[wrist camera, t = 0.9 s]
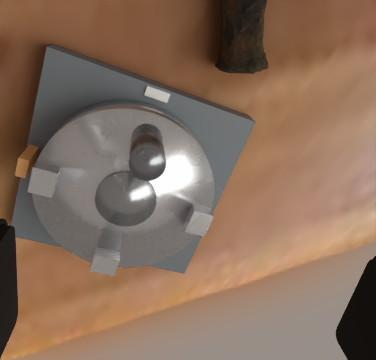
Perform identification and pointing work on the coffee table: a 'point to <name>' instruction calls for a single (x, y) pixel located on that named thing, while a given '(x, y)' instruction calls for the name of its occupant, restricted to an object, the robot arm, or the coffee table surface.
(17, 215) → the gray plinth
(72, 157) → the silver disc
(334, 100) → the coffee table surface
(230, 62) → the hand tool
